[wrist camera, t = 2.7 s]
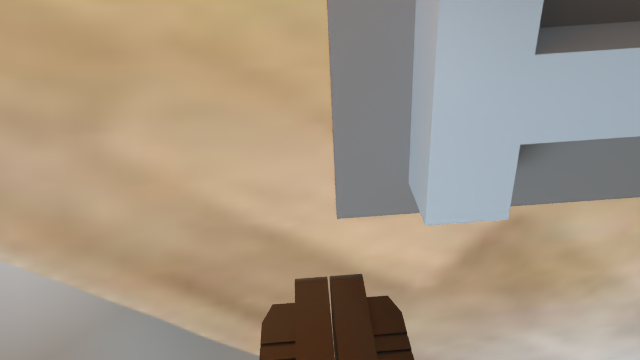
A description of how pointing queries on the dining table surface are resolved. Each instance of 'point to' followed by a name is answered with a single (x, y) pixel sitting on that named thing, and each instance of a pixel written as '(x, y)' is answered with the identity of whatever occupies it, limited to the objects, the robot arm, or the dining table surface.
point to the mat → (396, 104)
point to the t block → (508, 98)
